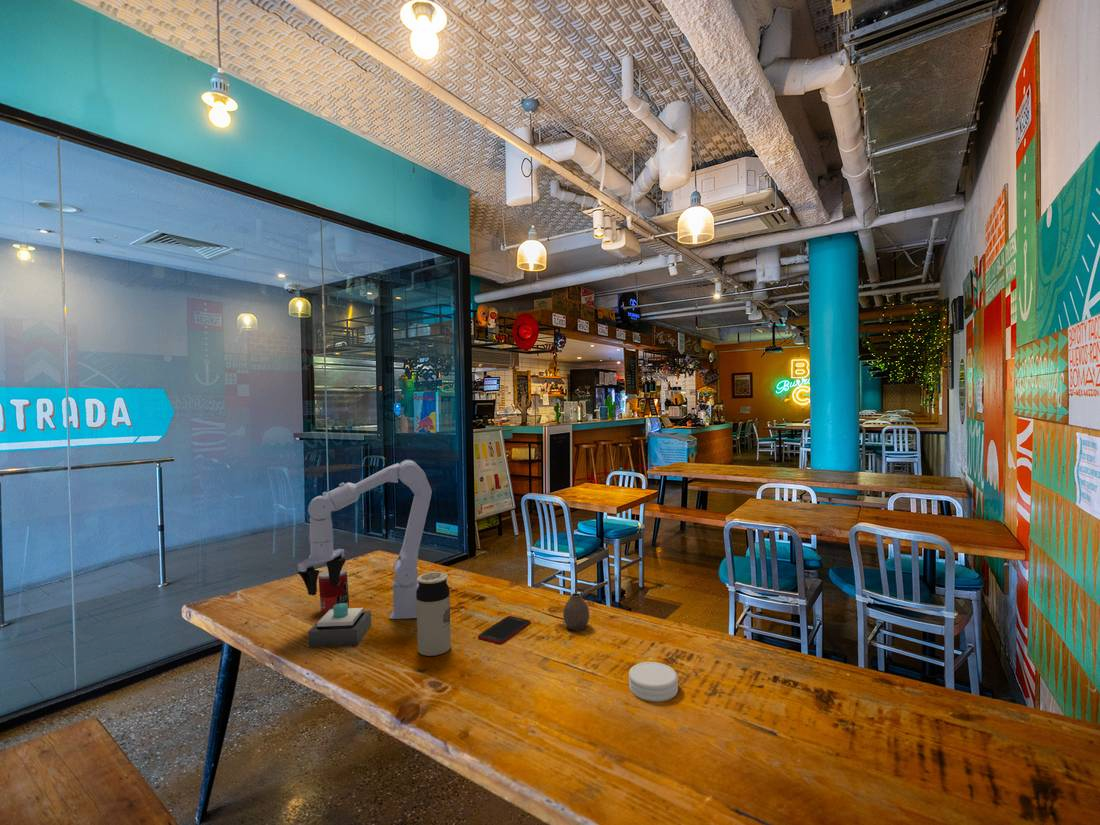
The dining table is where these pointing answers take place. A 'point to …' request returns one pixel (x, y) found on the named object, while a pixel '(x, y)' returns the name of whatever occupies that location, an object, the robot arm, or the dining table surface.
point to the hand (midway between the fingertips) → (323, 589)
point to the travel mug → (433, 614)
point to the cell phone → (504, 630)
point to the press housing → (340, 633)
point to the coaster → (653, 681)
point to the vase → (576, 612)
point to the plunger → (340, 616)
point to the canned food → (333, 591)
